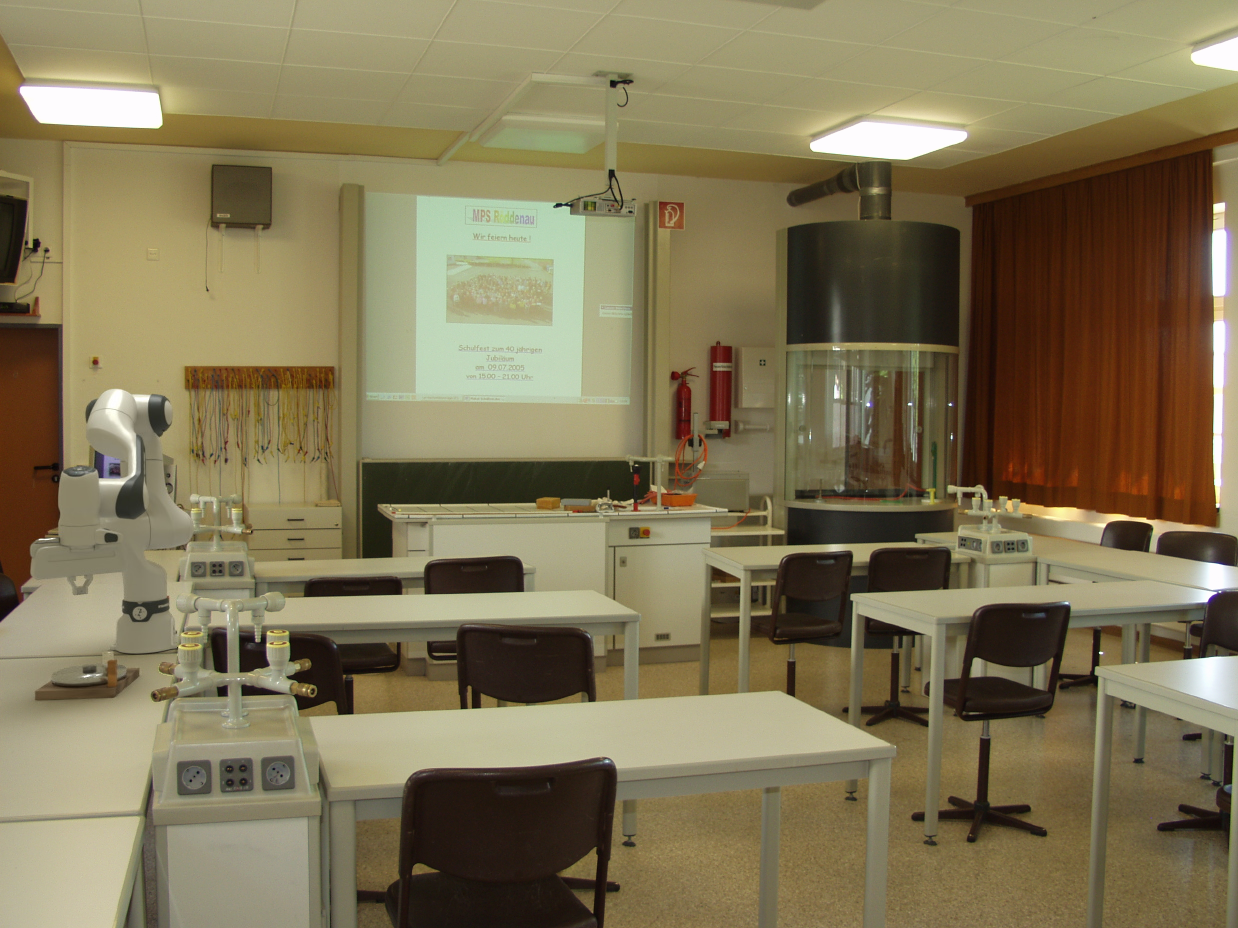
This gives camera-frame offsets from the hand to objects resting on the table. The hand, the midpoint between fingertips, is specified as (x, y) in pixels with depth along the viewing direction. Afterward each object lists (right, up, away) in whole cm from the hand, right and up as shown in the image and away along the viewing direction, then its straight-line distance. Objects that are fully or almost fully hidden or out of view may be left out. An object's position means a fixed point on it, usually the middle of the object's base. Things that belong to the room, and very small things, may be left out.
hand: (80, 594), depth 238 cm
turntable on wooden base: (-1, -23, +5) cm, 24 cm away
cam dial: (0, -21, +5) cm, 21 cm away
